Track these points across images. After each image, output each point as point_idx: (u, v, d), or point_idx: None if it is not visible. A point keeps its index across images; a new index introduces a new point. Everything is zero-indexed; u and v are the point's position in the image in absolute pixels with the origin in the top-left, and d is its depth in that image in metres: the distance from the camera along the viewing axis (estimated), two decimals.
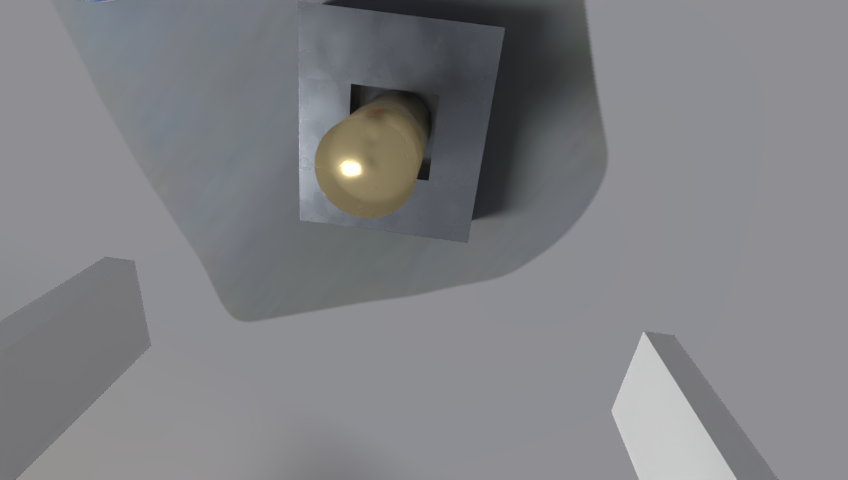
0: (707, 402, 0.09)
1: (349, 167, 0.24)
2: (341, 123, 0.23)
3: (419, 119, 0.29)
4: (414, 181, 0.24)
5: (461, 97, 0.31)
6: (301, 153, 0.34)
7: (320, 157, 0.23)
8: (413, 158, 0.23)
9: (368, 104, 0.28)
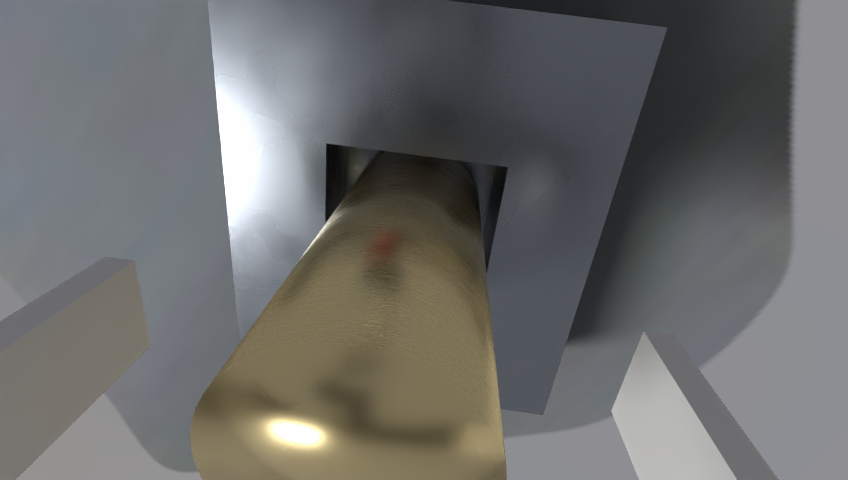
0: (707, 402, 0.09)
1: (297, 462, 0.08)
2: (262, 358, 0.07)
3: (473, 229, 0.13)
4: None
5: (554, 172, 0.15)
6: (236, 267, 0.18)
7: (207, 437, 0.08)
8: (500, 454, 0.07)
9: (360, 212, 0.12)
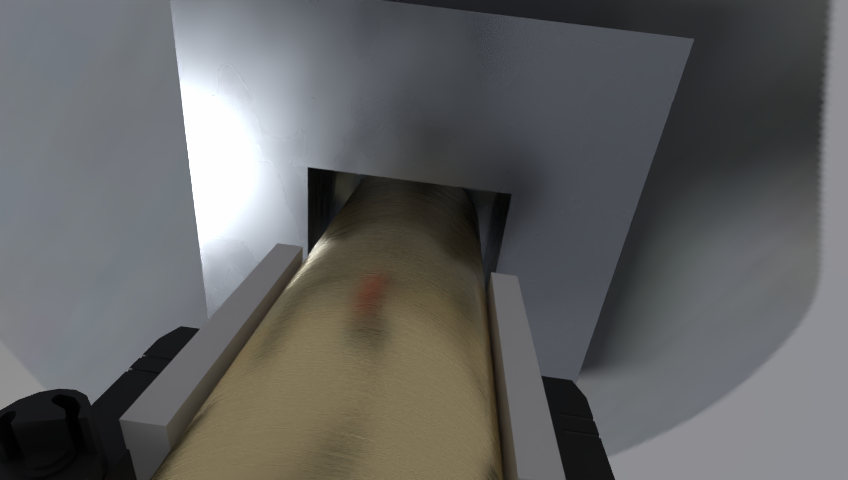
0: (514, 319, 0.10)
1: None
2: None
3: (472, 268, 0.12)
4: None
5: (563, 199, 0.13)
6: (210, 301, 0.16)
7: None
8: None
9: (341, 253, 0.10)
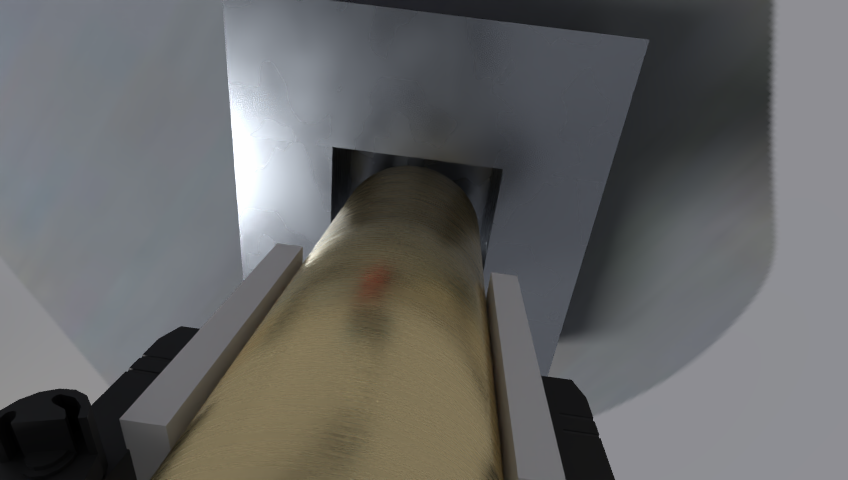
0: (514, 319, 0.10)
1: None
2: None
3: (472, 268, 0.12)
4: None
5: (546, 173, 0.16)
6: (246, 264, 0.19)
7: None
8: None
9: (340, 254, 0.10)
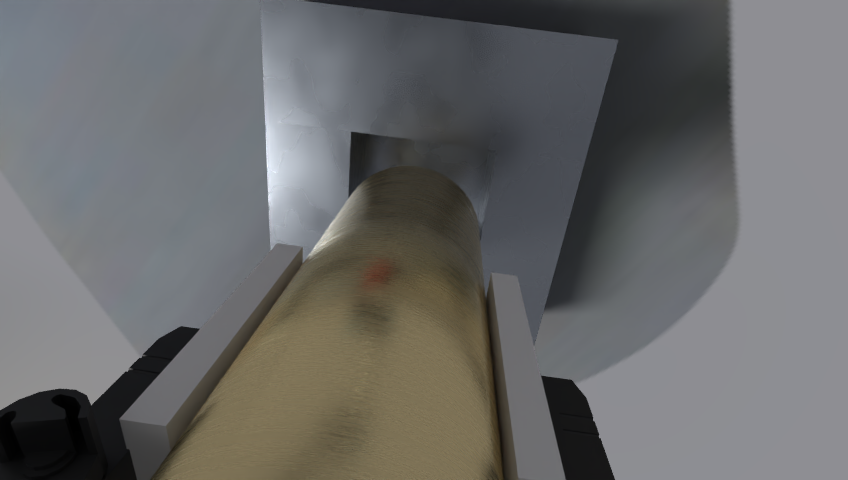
0: (514, 319, 0.10)
1: None
2: None
3: (472, 268, 0.12)
4: None
5: (533, 154, 0.19)
6: (273, 236, 0.21)
7: None
8: None
9: (341, 254, 0.10)
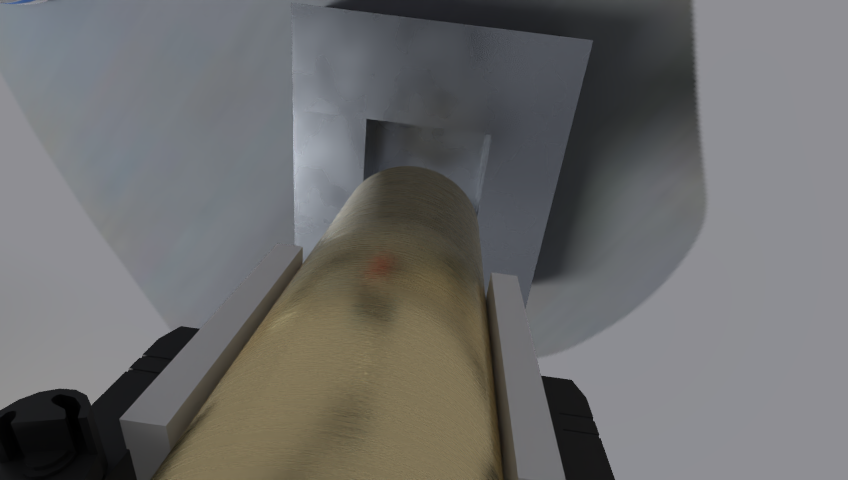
0: (514, 319, 0.10)
1: None
2: None
3: (472, 269, 0.12)
4: None
5: (523, 138, 0.22)
6: (297, 211, 0.24)
7: None
8: None
9: (341, 254, 0.10)
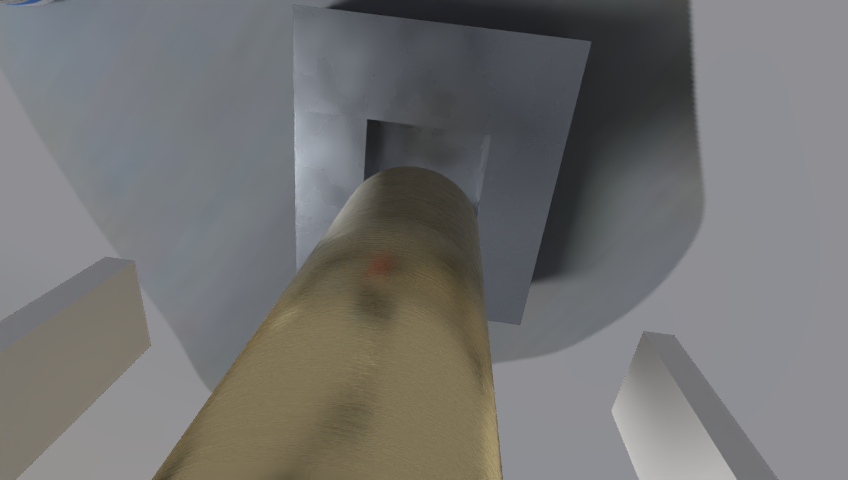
0: (707, 402, 0.09)
1: None
2: (197, 478, 0.05)
3: (472, 268, 0.12)
4: None
5: (522, 138, 0.22)
6: (298, 210, 0.25)
7: None
8: None
9: (342, 253, 0.10)
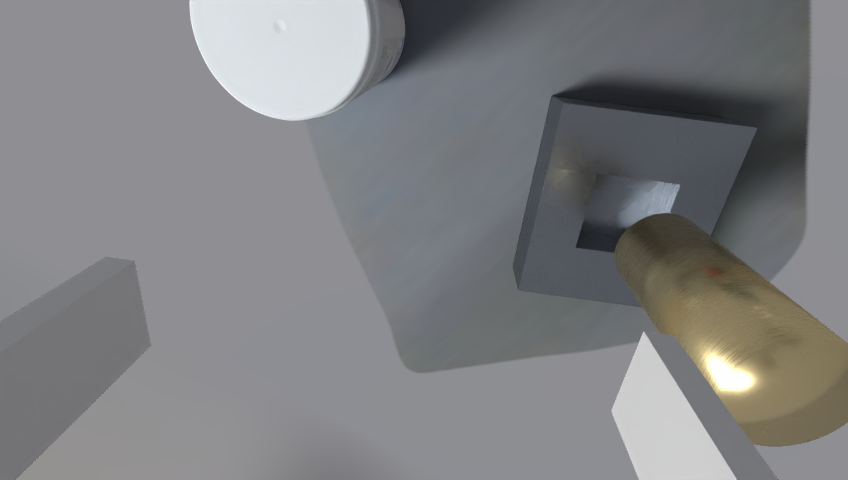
0: (707, 402, 0.09)
1: (770, 392, 0.17)
2: (784, 344, 0.16)
3: None
4: None
5: (701, 186, 0.33)
6: (534, 232, 0.36)
7: (734, 380, 0.17)
8: None
9: (716, 269, 0.21)
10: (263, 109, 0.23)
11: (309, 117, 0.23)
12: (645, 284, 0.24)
